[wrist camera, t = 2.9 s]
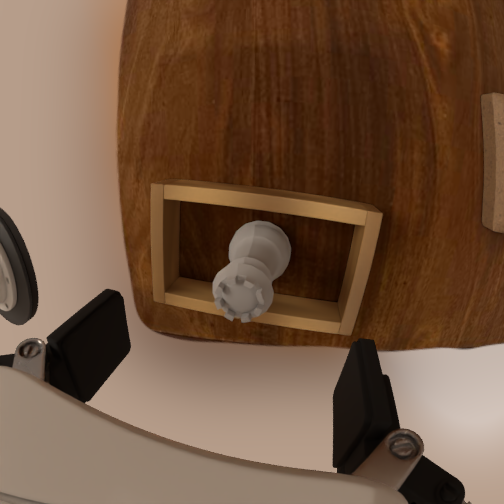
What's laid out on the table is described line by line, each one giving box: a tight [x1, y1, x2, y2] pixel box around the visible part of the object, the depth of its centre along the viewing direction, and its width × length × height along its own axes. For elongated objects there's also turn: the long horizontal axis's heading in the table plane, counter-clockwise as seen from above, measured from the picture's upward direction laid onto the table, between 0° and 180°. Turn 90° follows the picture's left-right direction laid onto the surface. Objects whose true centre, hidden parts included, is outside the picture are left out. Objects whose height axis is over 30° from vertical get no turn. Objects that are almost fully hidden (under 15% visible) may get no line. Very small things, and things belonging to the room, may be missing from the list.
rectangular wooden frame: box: [151, 179, 383, 335], centre depth 20 cm, size 15×9×3 cm, turn 85°
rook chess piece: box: [213, 221, 291, 323], centre depth 18 cm, size 4×4×8 cm
